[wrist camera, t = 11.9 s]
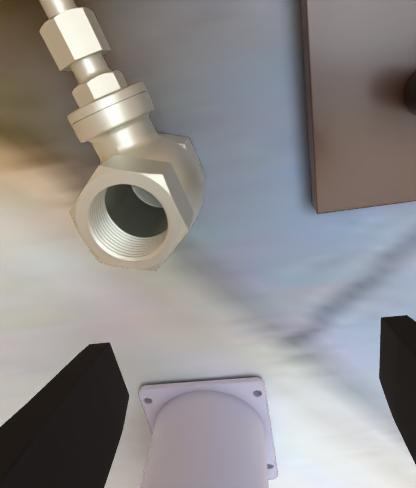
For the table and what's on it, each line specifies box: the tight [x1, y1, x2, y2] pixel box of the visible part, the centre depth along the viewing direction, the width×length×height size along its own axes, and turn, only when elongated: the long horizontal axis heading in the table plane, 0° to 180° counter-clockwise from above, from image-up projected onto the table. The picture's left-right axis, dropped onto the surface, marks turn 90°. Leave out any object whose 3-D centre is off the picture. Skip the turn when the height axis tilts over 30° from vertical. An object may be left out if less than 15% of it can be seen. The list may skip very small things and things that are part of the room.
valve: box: [39, 0, 205, 271], centre depth 13 cm, size 7×7×12 cm
